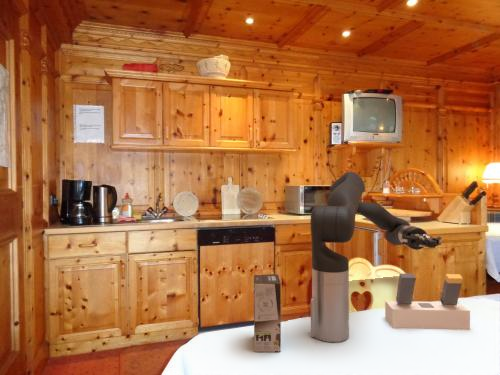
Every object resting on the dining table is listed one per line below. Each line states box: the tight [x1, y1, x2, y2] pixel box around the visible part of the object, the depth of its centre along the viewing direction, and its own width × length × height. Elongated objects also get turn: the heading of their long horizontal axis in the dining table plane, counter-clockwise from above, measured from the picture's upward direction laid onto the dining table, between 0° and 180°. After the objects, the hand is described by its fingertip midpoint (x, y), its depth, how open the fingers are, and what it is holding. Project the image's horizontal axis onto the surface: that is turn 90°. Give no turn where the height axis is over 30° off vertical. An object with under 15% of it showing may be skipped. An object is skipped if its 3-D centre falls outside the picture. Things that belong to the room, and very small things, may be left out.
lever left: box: [395, 273, 417, 305], centre depth 101 cm, size 4×2×9 cm, turn 86°
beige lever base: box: [384, 300, 471, 330], centre depth 103 cm, size 20×7×5 cm, turn 85°
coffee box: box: [253, 273, 282, 353], centre depth 91 cm, size 9×6×16 cm
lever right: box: [439, 273, 464, 306], centre depth 100 cm, size 4×2×9 cm, turn 86°
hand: (432, 244), depth 113 cm, fingers closed
